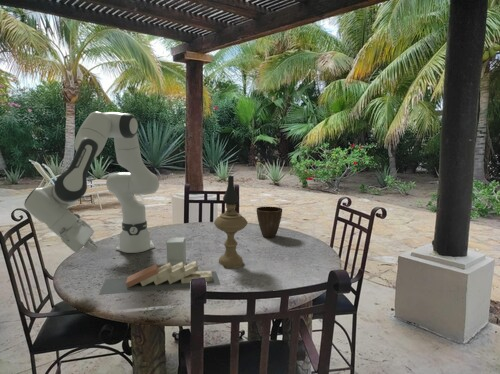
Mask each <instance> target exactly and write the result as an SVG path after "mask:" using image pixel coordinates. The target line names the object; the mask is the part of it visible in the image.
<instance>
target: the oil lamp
mask: <svg viewBox="0 0 500 374" xmlns="http://www.w3.org/2000/svg"><path fill="white" fill-rule="evenodd" d="M234 177H235V176H234V175H228V176H227V187H226V190H225V192H224V195H223V197H222V199H223V202H224V203H225V208H226V210H225V212H223V213H221V214H220V215H219V216H218V217H217V218H216V219H215V220H214V222H213V224H214V226H215V227H216V229H219V230H220V231H222V232H224V233H225V234H226V235H227V239H225V242H224V243H223V245H224V247H225V251H224V253H223V254H221V256H220V257H219V258H218V264H220V265H221V266H223V268H227V269H236V268H239V267H241V266H243V265H244V261H243V257H242V256H241V255H240V254H239V253H238V252H237V250H236V249H237V246H238V241H236V238H235V235H236V233H237V232H239V231H242V230H243V229H244V228H246V226H247V225H248V221H247V219H246V218H245V217H244V216H243V215H242V214H241V213H240V212H237V211H236V207H237V205H236V204H237V203H238V201H239V199H240V198H239V195H238V194H237V192H236V188H235V184H234Z"/></svg>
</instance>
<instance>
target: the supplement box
mask: <svg viewBox="0 0 500 374" xmlns="http://www.w3.org/2000/svg"><path fill="white" fill-rule="evenodd" d="M165 245H166V264H167V263H170V264H171V266H174V265H176V264H179V263H181V262H183V264H184V266H185V265H187V256H186V255H187V251H186V237H169V238H168V240H167V241H166V243H165Z"/></svg>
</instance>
